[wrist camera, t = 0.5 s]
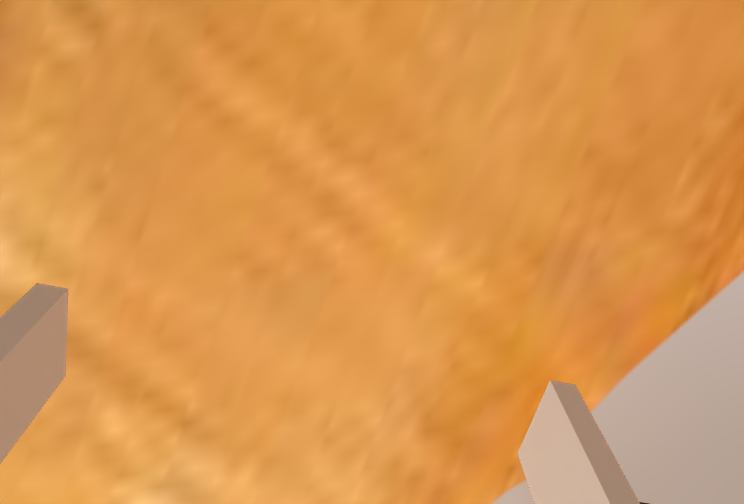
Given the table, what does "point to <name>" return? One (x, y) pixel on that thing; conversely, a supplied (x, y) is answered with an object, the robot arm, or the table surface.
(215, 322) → the table surface
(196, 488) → the table surface
